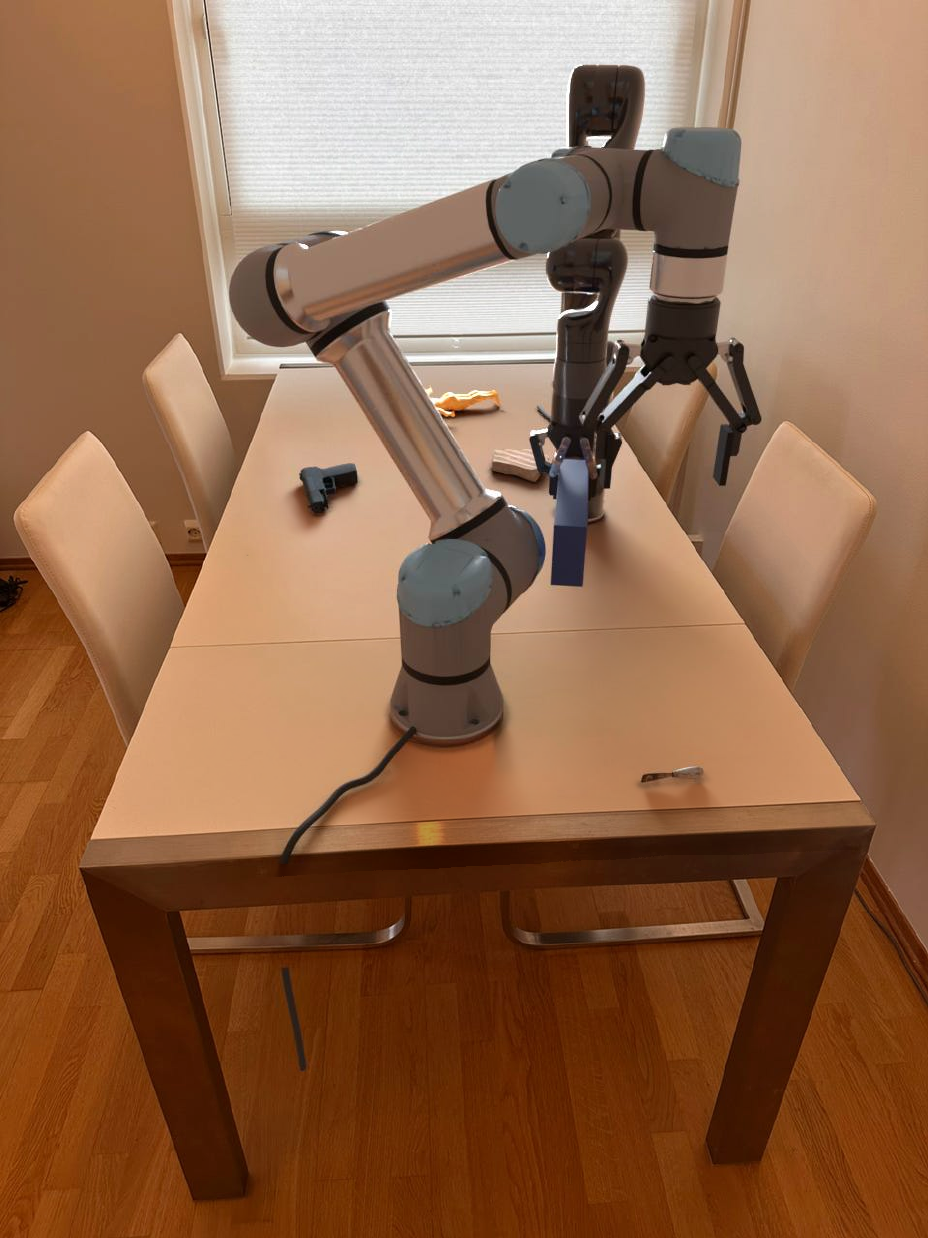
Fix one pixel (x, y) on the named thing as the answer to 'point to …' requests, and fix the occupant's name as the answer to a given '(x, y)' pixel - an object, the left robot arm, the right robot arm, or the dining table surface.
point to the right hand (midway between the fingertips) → (571, 497)
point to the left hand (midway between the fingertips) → (662, 483)
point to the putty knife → (674, 774)
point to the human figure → (461, 400)
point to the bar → (570, 524)
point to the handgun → (325, 483)
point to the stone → (516, 463)
